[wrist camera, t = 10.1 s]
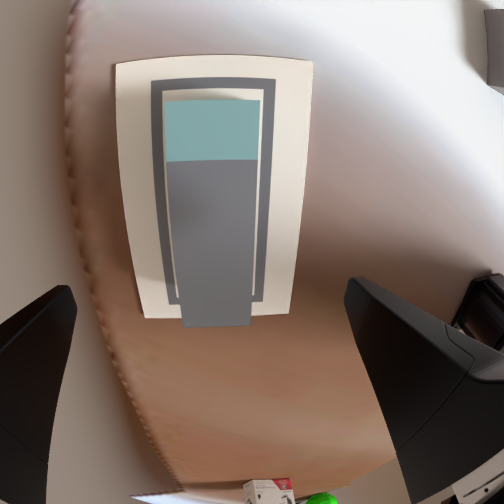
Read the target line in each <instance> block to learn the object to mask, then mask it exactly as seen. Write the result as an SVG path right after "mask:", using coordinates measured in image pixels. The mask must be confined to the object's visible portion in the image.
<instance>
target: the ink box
mask: <svg viewBox="0 0 504 504" xmlns="http://www.w3.org/2000/svg"><path fill="white" fill-rule="evenodd" d="M243 489H244V498H245V504H295V501H294V496H293V491H292V486H291V481H290V479H264V480H251V481H249V482H247V483H246V484H244V485H243Z"/></svg>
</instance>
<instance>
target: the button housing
mask: <svg viewBox="0 0 504 504" xmlns="http://www.w3.org/2000/svg"><path fill="white" fill-rule="evenodd" d="M484 11H485V19H486V29H487V44H488V86H490V87H492V88H493V89H495V90H496V91H498V92H500V93H501V94H503V95H504V9H494V10H484Z"/></svg>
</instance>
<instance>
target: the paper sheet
mask: <svg viewBox="0 0 504 504" xmlns="http://www.w3.org/2000/svg"><path fill="white" fill-rule="evenodd" d="M312 76H313V62H311V61H304V60H296V59H287V58H277V57H264V56H244V55H198V56H179V57H166V58H156V59H147V60H139V61H132V62H126V63H119V64H116V125H117V144H118V158H119V169H120V180H121V189H122V197H123V205H124V213H125V220H126V226H127V233H128V239H129V245H130V250H131V256H132V261H133V266H134V271H135V276H136V281H137V286H138V290H139V295H140V299H141V304H142V308H143V312H144V316H145V318H182V316H181V309H180V302H179V295H178V288H177V281H176V273H175V264H174V256H173V246H172V237H171V226H170V215H169V202H168V188H167V171H166V149H165V102H170V101H186V100H260V120H259V145H258V169H257V194H256V218H255V241H254V265H253V289H252V312H251V316H254V315H271V314H286V313H289V308H290V301H291V294H292V286H293V279H294V272H295V264H296V256H297V248H298V240H299V231H300V222H301V213H302V204H303V194H304V184H305V174H306V163H307V151H308V139H309V125H310V111H311V95H312Z"/></svg>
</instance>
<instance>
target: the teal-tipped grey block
mask: <svg viewBox="0 0 504 504" xmlns="http://www.w3.org/2000/svg"><path fill="white" fill-rule="evenodd" d="M259 120H260V100H186V101H170V102H165V149H166V171H167V188H168V202H169V215H170V226H171V237H172V246H173V256H174V264H175V273H176V281H177V288H178V295H179V302H180V309H181V316H182V322H183V328H190V327H225V326H247V325H251V312H252V289H253V265H254V241H255V218H256V194H257V169H258V145H259Z"/></svg>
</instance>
